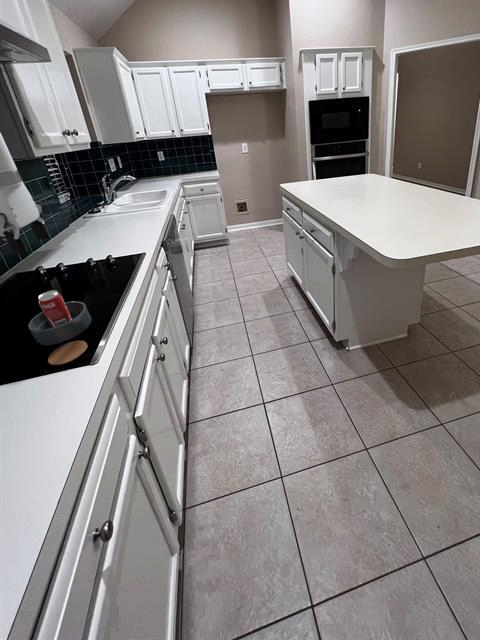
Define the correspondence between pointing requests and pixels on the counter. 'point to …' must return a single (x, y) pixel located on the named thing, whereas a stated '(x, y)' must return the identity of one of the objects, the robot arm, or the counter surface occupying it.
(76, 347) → the coaster
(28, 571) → the counter surface
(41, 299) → the soda can
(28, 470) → the counter surface
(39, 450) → the counter surface
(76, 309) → the bowl
